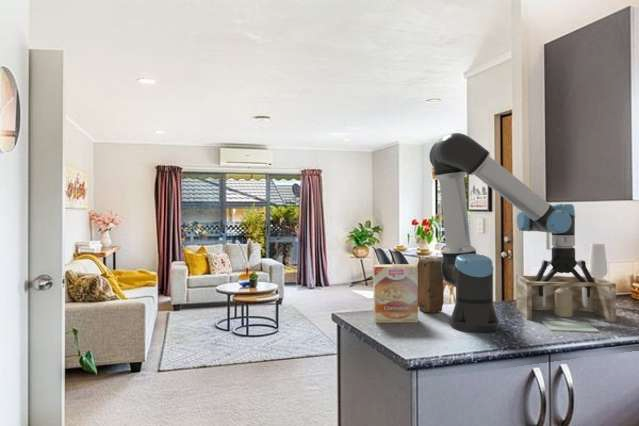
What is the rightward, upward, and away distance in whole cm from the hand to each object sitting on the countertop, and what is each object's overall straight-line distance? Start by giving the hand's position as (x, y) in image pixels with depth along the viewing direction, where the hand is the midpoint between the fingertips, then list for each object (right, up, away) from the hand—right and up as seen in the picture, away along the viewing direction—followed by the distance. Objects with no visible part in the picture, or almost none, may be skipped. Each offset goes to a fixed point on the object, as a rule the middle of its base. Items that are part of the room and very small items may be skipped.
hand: (564, 306), depth 170 cm
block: (-46, -4, +11) cm, 47 cm away
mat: (-6, -4, -16) cm, 18 cm away
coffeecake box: (-61, -5, -4) cm, 61 cm away
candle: (0, -4, 0) cm, 4 cm away
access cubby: (0, -3, +1) cm, 4 cm away
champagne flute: (+23, -3, +19) cm, 30 cm away
